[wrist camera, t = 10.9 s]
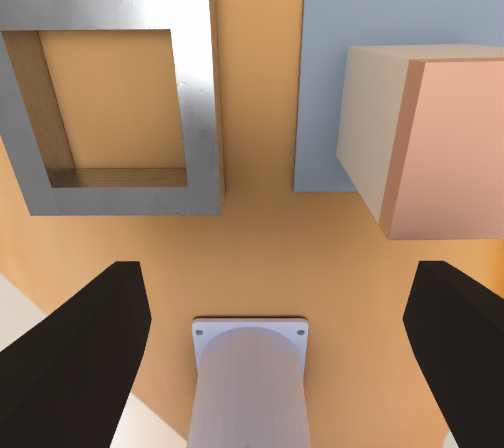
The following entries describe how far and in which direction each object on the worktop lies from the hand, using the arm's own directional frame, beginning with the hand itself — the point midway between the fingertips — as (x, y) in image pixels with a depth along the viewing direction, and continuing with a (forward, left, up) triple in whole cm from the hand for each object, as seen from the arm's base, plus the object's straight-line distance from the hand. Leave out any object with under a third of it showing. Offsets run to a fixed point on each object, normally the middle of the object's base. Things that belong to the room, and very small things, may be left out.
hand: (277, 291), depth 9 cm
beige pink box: (+3, -6, -10) cm, 12 cm away
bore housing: (+3, +7, -10) cm, 13 cm away
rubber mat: (+3, -6, -10) cm, 12 cm away
